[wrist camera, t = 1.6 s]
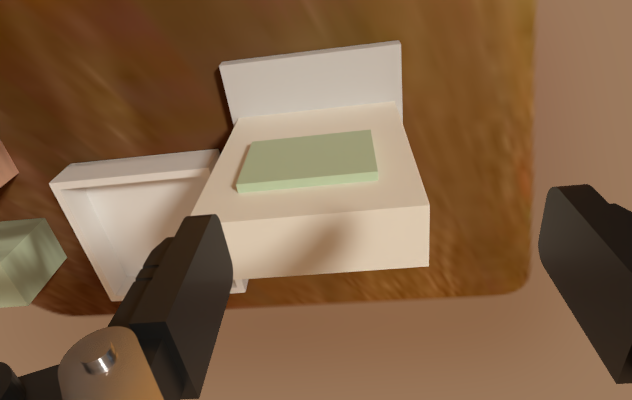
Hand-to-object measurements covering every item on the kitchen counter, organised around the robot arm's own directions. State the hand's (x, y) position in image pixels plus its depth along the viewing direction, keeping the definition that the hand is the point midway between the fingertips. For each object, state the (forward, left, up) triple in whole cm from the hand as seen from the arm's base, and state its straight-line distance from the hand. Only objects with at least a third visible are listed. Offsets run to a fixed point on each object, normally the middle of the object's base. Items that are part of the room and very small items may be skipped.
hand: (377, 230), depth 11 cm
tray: (+13, -17, -21) cm, 30 cm away
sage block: (+14, -30, -21) cm, 39 cm away
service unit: (+5, -3, -21) cm, 22 cm away
